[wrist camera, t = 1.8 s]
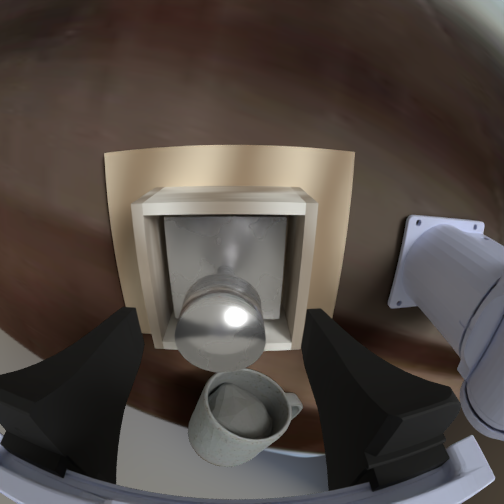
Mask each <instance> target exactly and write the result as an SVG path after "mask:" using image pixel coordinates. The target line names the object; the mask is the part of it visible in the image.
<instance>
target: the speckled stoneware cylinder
mask: <svg viewBox="0 0 504 504" xmlns="http://www.w3.org/2000/svg"><path fill="white" fill-rule="evenodd" d="M302 408H303V405H302V403H301V401H300V400H299V398H298V397H297V395H296V394H294V393H285V392H284V391H283V389H282V388H281V387H280V386H279V385H278V384H277V383H276V382H275V381H274V380H272V379H271V378H269V377H268V376H266V375H264V374H262V373H260V372H258V371H255V370H252V369H247V368H244V369H241V370H238V371H234V372H227V373H220V372H217V373H215V374H214V375H213V376H212V377H211V378H210V379H209V380H208V381H207V383H206V385H205V387H204V389H203V391H202V394H201V396H200V398H199V401H198V403H197V405H196V408H195V410H194V412H193V414H192V416H191V419H190V422H189V428H188V436H189V441H190V443H191V445H192V447H193V449H194V450H195V452H196V453H197V454H198V455H199V456H200V457H201V458H202V459H204V460H205V461H207V462H209V463H211V464H214V465H217V466H224V467H232V466H237V465H240V464H243V463H245V462H248V461H249V460H251V459H253V458H254V457H255V456H256V455H258V454H259V453H260V452H261V451H262V450H264V449H265V448H267V447H268V446H269V445H270V444H272V443H273V442H274V441H276V440H277V439H278V438H279V437H280V436H281V435H282V434H283V433H284V432H285V431H286V430H287V428H288V426H289V424H290V421H291V420H292V419H293V418H294V417H295V416H296V415H297V414H298V413H299V412H300V411H301V410H302Z"/></svg>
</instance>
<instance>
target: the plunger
mask: <svg viewBox="0 0 504 504" xmlns="http://www.w3.org/2000/svg"><path fill="white" fill-rule="evenodd" d="M286 221H287V217H286V215H270V214H190V215H166V216H165V217H164V225H165V236H166V247H167V257H168V266H169V275H170V283H171V291H172V298H173V305H174V312H175V318H179V319H178V322H177V326H176V330H175V343H176V346H177V348H178V350H179V352H180V353H181V354H182V356H183V357H184V358H185V359H186V360H187V361H189V362H190V363H191V364H193V365H195V366H197V367H199V368H201V369H204V370H207V371H211V372H220V373H227V372H234V371H238V370H241V369H244V368H246V367H248V366H250V365H252V364H253V363H254V362H256V361H257V360H258V359H259V357H260V356H261V355H262V353H263V351H264V348H265V344H266V335H265V327H264V320H263V319H279V316H280V305H281V292H282V280H283V267H284V252H285V237H286Z"/></svg>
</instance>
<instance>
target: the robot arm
mask: <svg viewBox="0 0 504 504" xmlns="http://www.w3.org/2000/svg"><path fill="white" fill-rule="evenodd" d="M417 220H419V222H418V224H416V222H417ZM473 227H474V228H473ZM483 231H484V223H483V222H481V221H473V220H464V219H454V218H444V217H433V216H421V215H410V216H408V218H407V220H406V225H405V231H404V236H403V241H402V246H401V251H400V255H399V260H398V264H397V269H396V273H395V277H394V281H393V285H392V289H391V292H390V296H389V300H388V306H389V307H390V308H392V309H393V308H404V307H413V306H418V307H419V308H420V309H421V311H422V312H423V313H424V314H425V315H426V316H427V317H428V319H429V320H430V321H431V322H432V323H433V325H434V326H435V327H436V328H437V329H438V331H439V332H440V333H441V334H442V335H443V337H444V338H445V339H446V340H447V342H448V343H449V344H450V345H451V347H452V348H453V349H454V350H455V352H456V353H457V354H458V355H459V357H460V358H461V361H460V364H459V366H458V368H457V370H458V371H459V373H460V374H461V375H462V377H463V378H464V381H463V383H462V386H461V388H460V402H461V404H460V402H459V400H458V399H457V397H456V396H455V394H454V392H453V391H452V389H451V388H450V387H448V386H445V385H441V384H438V383H434V382H431V381H428V380H425V379H422V378H420V377H417V376H414V375H412V374H410V373H408V372H405V371H403V370H401V369H399V368H397V367H395V366H394V365H392V364H390V363H388V362H386V361H385V360H383V359H382V358H380V357H378V356H377V355H375V354H374V353H372V352H371V351H369V350H368V349H367V348H365V347H364V346H363V345H362V344H360V343H359V342H358V341H356V340H355V339H354V338H353V337H352V336H350V335H349V334H348V333H347V332H346V331H345V330H344V329H343V328H341V327H340V326H339V325H338V324H337V323H336V322H335V321H334V320H333V319H332V318H331V317H330V316H329V315H328V314H327V313H325V312H324V311H323V310H322V309H321V308H317V309H307V311H306V318H305V325H304V331H303V338H302V344H301V348H302V354H303V360H304V365H305V369H306V372H307V375H308V379H309V382H310V385H311V388H312V391H313V394H314V398H315V401H316V404H317V408H318V411H319V416H320V421H321V427H322V433H323V440H324V447H325V454H326V463H327V474H328V486H329V491H326V492H321V493H315V494H307V495H300V496H291V497H282V498H268V499H239V500H237V499H234V500H232V499H230V500H229V499H206V498H192V497H182V496H174V495H166V494H160V493H154V492H148V491H143V490H137V489H132V488H128V487H124V486H120V485H116V466H117V453H118V443H119V435H120V430H121V424H122V419H123V413H124V409H125V406H126V402H127V399H128V397H129V394H130V391H131V388H132V385H133V383H134V380H135V377H136V374H137V371H138V369H139V366H140V363H141V358H142V354H143V349H144V340H143V336H142V332H141V328H140V324H139V320H138V315H137V311H136V308H135V307H122V308H121V309H119V310H118V311H116V312H115V313H114V314H113V315H111V316H110V317H109V318H107V319H106V320H105V321H104V322H102V323H101V324H100V325H99V326H97V327H96V328H95V329H93V330H92V331H91V332H89V333H88V334H87V335H85V336H84V337H83V338H81V339H80V340H78V341H77V342H76V343H74V344H73V345H71V346H69V347H68V348H66V349H64V350H63V351H61V352H59V353H58V354H56V355H54V356H52V357H50V358H48V359H45V360H43V361H41V362H39V363H37V364H35V365H32V366H29V367H27V368H24V369H21V370H18V371H14V372H10V373H6V374H2V375H0V424H1V425H2V426H3V427H4V428H5V430H6V432H5V435H3V434H1V433H0V492H1V493H2V494H4V495H5V496H7V497H8V498H10V499H12V500H13V501H14V502H16V503H18V504H461V503H463V502H464V501H466V500H467V499H469V498H470V497H472V496H473V495H475V494H476V493H478V492H479V491H480V490H482V489H483V488H485V487H486V486H487V485H489V484H490V483H492V482H493V481H494V480H495V477H494V475H493V473H492V470H491V468H490V467H489V464H488V462H487V461H486V459H485V457H484V455H483V453H482V451H481V449H480V447H479V445H478V443H477V442H476V440H475V438H474V437H473V435H470V436H468V437H466V438H464V439H462V440H460V441H458V442H456V443H454V444H452V445H451V446H449V447H448V448H447V449H445V447H444V445H443V443H444V442H445V441H446V438H445V436H444V434H443V433H444V431H445V430H446V429H447V428H448V427H449V425H450V424H451V423H452V422H453V421H454V419H455V418H456V416H457V415H458V413H459V411H460V408H461V406H462V409H463V412H464V414H465V415H466V418H467V419H468V421H469V422H470V423H471V425H472V426H473V427H474V428H475V429H476V430H478V431H479V432H480V433H482V434H483V435H485V436H488V437H490V438H494V439H498V440H502V441H504V246H502V245H501V244H499V243H497V242H496V241H494V240H492V239H490V238H489V237H487V236H485V235H484V234H483ZM398 301H399V303H397V302H398Z"/></svg>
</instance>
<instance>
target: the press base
mask: <svg viewBox="0 0 504 504" xmlns="http://www.w3.org/2000/svg"><path fill="white" fill-rule="evenodd" d="M104 156H105V173H106V186H107V197H108V207H109V215H110V223H111V230H112V237H113V244H114V250H115V256H116V262H117V267H118V272H119V278H120V283H121V287H122V292H123V297H124V301H125V305H126V307H135V308H136V311H137V315H138V320H139V324H140V328H141V332H142V333H146V334H152V338H153V342H154V346H155V348H158V349H174V350H178V348H177V346H176V343H175V330H176V326H177V322H178V319H179V318H175V312H174V305H173V298H172V291H171V283H170V275H169V266H168V257H167V247H166V236H165V225H164V217H165V216H166V215H190V214H270V215H286V217H287V221H286V237H285V252H284V267H283V280H282V292H281V305H280V316H279V319H263V320H264V327H265V335H266V344H265V348H264V351H276V350H298V349H300V348H301V342H302V336H303V331H304V325H305V318H306V311H307V309H317V308H321V309H322V310H323V311H324V312H325V313H327V314H328V315H329V316H330V317H331V318H332V317H333V312H334V307H335V302H336V297H337V291H338V286H339V280H340V274H341V268H342V262H343V255H344V249H345V242H346V235H347V227H348V219H349V211H350V202H351V192H352V181H353V170H354V156H355V152H350V151H341V150H331V149H320V148H307V147H291V146H269V145H198V146H176V147H160V148H147V149H136V150H126V151H117V152H109V153H104Z"/></svg>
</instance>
